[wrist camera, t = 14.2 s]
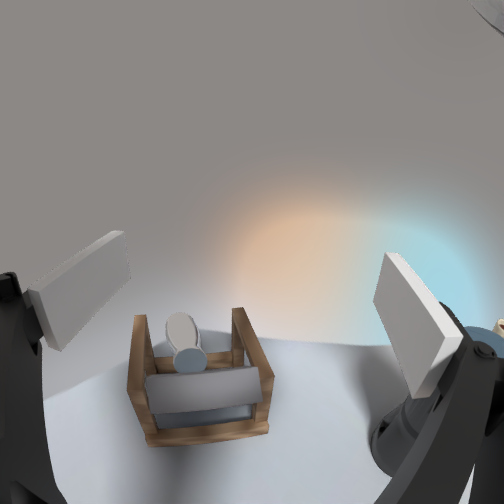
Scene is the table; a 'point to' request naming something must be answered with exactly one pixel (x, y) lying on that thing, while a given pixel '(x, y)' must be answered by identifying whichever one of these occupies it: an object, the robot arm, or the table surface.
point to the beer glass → (185, 343)
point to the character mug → (499, 328)
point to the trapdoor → (203, 390)
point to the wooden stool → (241, 340)
